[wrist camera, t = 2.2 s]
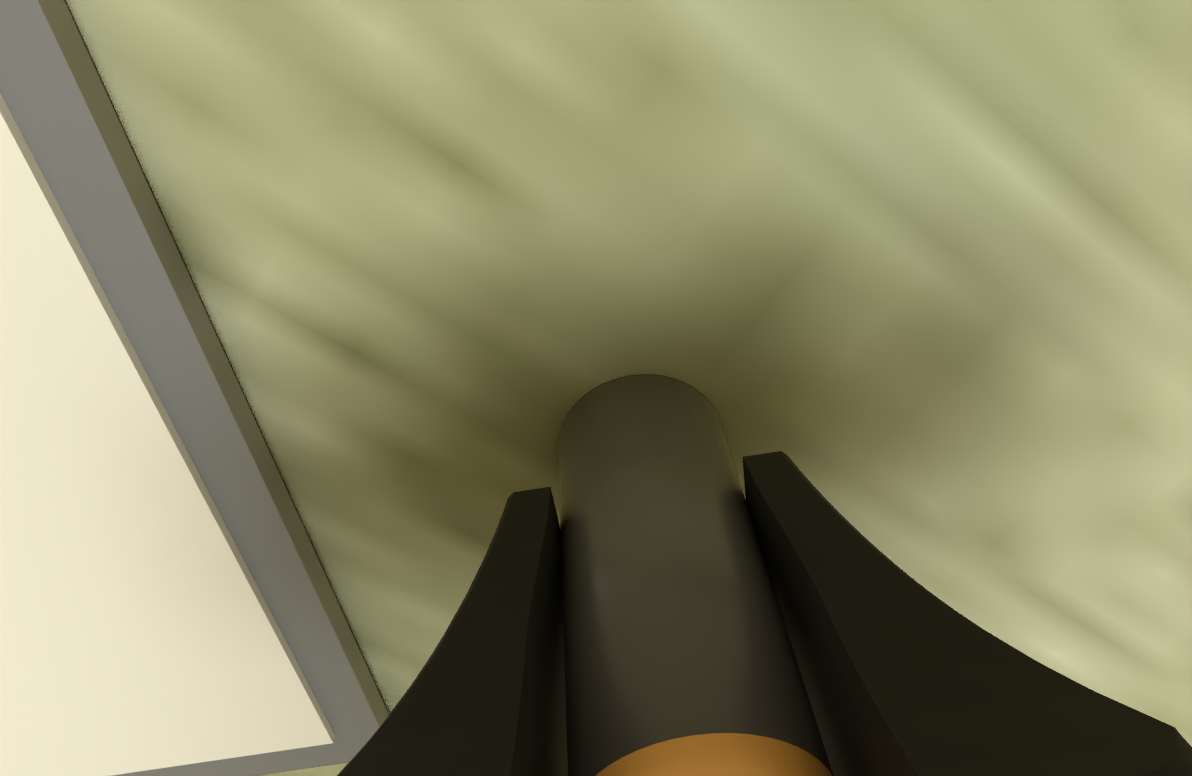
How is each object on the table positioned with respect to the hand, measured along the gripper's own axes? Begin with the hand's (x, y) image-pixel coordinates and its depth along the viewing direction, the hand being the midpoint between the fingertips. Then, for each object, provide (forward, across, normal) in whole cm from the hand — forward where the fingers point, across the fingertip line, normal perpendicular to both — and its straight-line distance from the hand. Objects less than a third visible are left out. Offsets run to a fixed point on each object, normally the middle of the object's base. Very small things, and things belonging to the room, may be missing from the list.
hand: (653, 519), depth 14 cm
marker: (+2, 0, 0) cm, 2 cm away
